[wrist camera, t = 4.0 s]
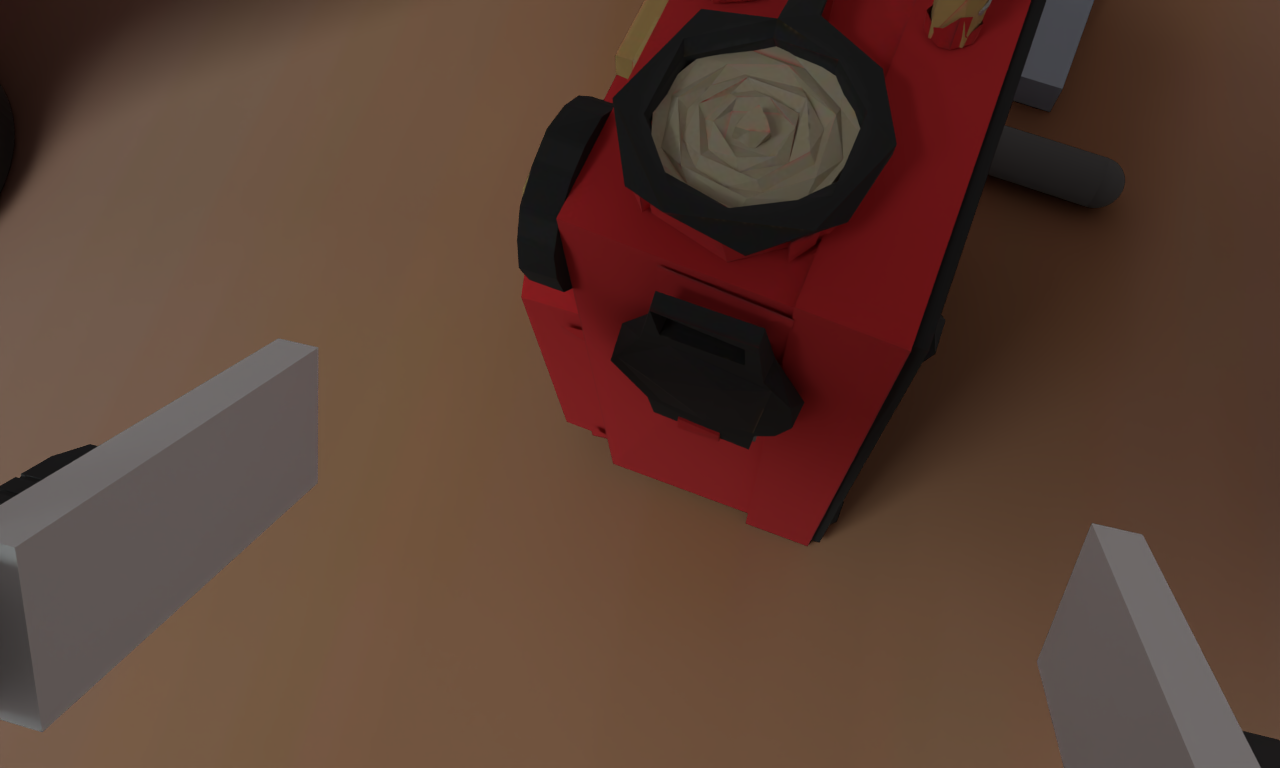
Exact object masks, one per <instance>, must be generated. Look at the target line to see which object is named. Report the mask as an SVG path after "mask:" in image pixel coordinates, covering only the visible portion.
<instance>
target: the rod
mask: <svg viewBox="0 0 1280 768" xmlns="http://www.w3.org/2000/svg"><path fill="white" fill-rule="evenodd" d="M988 175H991V176H994V177H997V178H1000V179H1003V180H1006V181H1009V182H1012V183H1015V184H1018V185H1022V186H1025V187H1028V188H1031V189H1034V190H1037V191H1040V192H1043V193H1046V194H1049V195H1052V196H1055V197H1058V198H1061V199H1064V200H1067V201H1070V202H1073V203H1076V204H1079V205H1082V206H1086V207H1090V208H1099V207H1104V206H1107V205H1109V204H1111V203H1112V202H1114V201H1115V200H1116V199H1117V198H1118V197H1119V196H1120V194H1121V193H1122V191H1123V188H1124V184H1125V176H1124V173H1123V170H1122V168H1121V167H1120V166H1119V164H1118V163H1116V162H1115V161H1113V160H1111V159H1109V158H1106V157H1103V156H1100V155H1097V154H1094V153H1091V152H1087V151H1084V150H1081V149H1078V148H1075V147H1072V146H1068V145H1065V144H1062V143H1059V142H1056V141H1053V140H1050V139H1046V138H1043V137H1040V136H1037V135H1034V134H1031V133H1027V132H1024V131H1021V130H1018V129H1015V128H1012V127H1009V126H1005V125H1004V128H1003V131H1002V134H1001V137H1000V140H999V143H998V146H997V149H996V152H995V155H994V158H993V161H992V164H991V167H990V170H989V173H988Z"/></svg>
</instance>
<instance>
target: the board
mask: <svg viewBox="0 0 1280 768" xmlns="http://www.w3.org/2000/svg"><path fill="white" fill-rule="evenodd" d="M1093 2H1094V0H1046V3H1045V6H1044V9H1043V12H1042V15H1041V18H1040V21H1039V24H1038V27H1037V30H1036V33H1035V36H1034V39H1033V42H1032V45H1031V48H1030V51H1029V54H1028V57H1027V60H1026V63H1025V66H1024V69H1023V72H1022V75H1021V78H1020V81H1019V84H1018V87H1017V90H1016V93H1015V96H1014V99H1013V101H1016V102H1019V103H1022V104H1026V105H1029V106H1032V107H1035V108H1039V109H1042V110H1045V111H1048V112H1050V111H1051V109H1052V107H1053V105H1054V104H1055V102H1056V100H1057V98H1058V96H1059V94H1060V93H1061V91H1062V89H1063V86H1064V83H1065V81H1066V78H1067V75H1068V72H1069V69H1070V67H1071V64H1072V61H1073V58H1074V55H1075V53H1076V50H1077V47H1078V44H1079V41H1080V38H1081V36H1082V33H1083V30H1084V27H1085V24H1086V22H1087V19H1088V16H1089V13H1090V10H1091V8H1092V5H1093Z"/></svg>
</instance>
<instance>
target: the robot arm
mask: <svg viewBox="0 0 1280 768" xmlns="http://www.w3.org/2000/svg"><path fill="white" fill-rule="evenodd" d="M13 148H14V121H13V115H12V111H11V107H10V104H9V101H8V98H7V96H6V94H5V92H4V90H3V88H2V86H1V85H0V192H1V190H2V188H3V185H4V183H5V180H6V178H7V175H8V171H9V168H10V165H11V160H12V155H13ZM317 483H318V347H314V346H309V345H305V344H301V343H296V342H292V341H287V340H283V339H279V338H278V339H277V340H275V341H273V342H272V343H270V344H268V345H267V346H265V347H263V348H262V349H260V350H258V351H257V352H255V353H253V354H252V355H250V356H248V357H247V358H245V359H243V360H242V361H240V362H238V363H236V364H235V365H233V366H231V367H230V368H228V369H226V370H225V371H223V372H221V373H220V374H218V375H216V376H215V377H213V378H211V379H210V380H208V381H206V382H205V383H203V384H201V385H200V386H198V387H196V388H195V389H193V390H191V391H190V392H188V393H186V394H185V395H183V396H181V397H180V398H178V399H176V400H175V401H173V402H171V403H170V404H168V405H166V406H165V407H163V408H161V409H160V410H158V411H156V412H155V413H153V414H151V415H150V416H148V417H146V418H145V419H143V420H141V421H140V422H138V423H136V424H135V425H133V426H131V427H130V428H128V429H126V430H125V431H123V432H121V433H120V434H118V435H116V436H115V437H113V438H111V439H110V440H108V441H106V442H105V443H103V444H101V445H100V446H95V445H91V444H89V445H86V446H83V447H80V448H77V449H73V450H70V451H67V452H64V453H61V454H58V455H54V456H51V457H50V458H48V459H46V460H44V461H43V462H41V463H39V464H37V465H36V466H34V467H32V468H31V469H29V470H27V471H25V472H24V473H22V474H21V477H20V478H17V477H15V478H13V479H11V480H10V481H8V482H6V483H5V484H3V485H1V486H0V720H3V721H7V722H10V723H13V724H17V725H20V726H23V727H27V728H30V729H33V730H37V731H40V732H43V731H44V730H45V729H46V728H48V727H49V726H50V725H51V724H52V723H53V722H54V721H55V720H56V719H57V718H59V717H60V716H61V715H62V714H63V713H64V712H65V711H66V710H67V709H69V708H70V707H71V706H72V705H73V704H74V703H75V702H76V701H77V700H78V699H80V698H81V697H82V696H83V695H84V694H85V693H86V692H87V691H88V690H89V689H91V688H92V687H93V686H94V685H95V684H96V683H97V682H98V681H99V680H101V679H102V678H103V677H104V676H105V675H106V674H107V673H108V672H109V671H110V670H112V669H113V668H114V667H115V666H116V665H117V664H118V663H119V662H120V661H122V660H123V659H124V658H125V657H126V656H127V655H128V654H129V653H130V652H131V651H133V650H134V649H135V648H136V647H137V646H138V645H139V644H140V643H141V642H142V641H144V640H145V639H146V638H147V637H148V636H149V635H150V634H151V633H152V632H154V631H155V630H156V629H157V628H158V627H159V626H160V625H161V624H162V623H163V622H165V621H166V620H167V619H168V618H169V617H170V616H171V615H172V614H173V613H175V612H176V611H177V610H178V609H179V608H180V607H181V606H182V605H183V604H184V603H186V602H187V601H188V600H189V599H190V598H191V597H192V596H193V595H194V594H195V593H197V592H198V591H199V590H200V589H201V588H202V587H203V586H204V585H205V584H207V583H208V582H209V581H210V580H211V579H212V578H213V577H214V576H215V575H216V574H218V573H219V572H220V571H221V570H222V569H223V568H224V567H225V566H226V565H228V564H229V563H230V562H231V561H232V560H233V559H234V558H235V557H236V556H237V555H239V554H240V553H241V552H242V551H243V550H244V549H245V548H246V547H247V546H248V545H250V544H251V543H252V542H253V541H254V540H255V539H256V538H257V537H258V536H260V535H261V534H262V533H263V532H264V531H265V530H266V529H267V528H268V527H269V526H271V525H272V524H273V523H274V522H275V521H276V520H277V519H278V518H279V517H281V516H282V515H283V514H284V513H285V512H286V511H287V510H288V509H289V508H290V507H292V506H293V505H294V504H295V503H296V502H297V501H298V500H299V499H300V498H301V497H303V496H304V495H305V494H306V493H307V492H308V491H309V490H310V489H311V488H313V487H314V486H315V485H316V484H317ZM1037 664H1038V668H1039V671H1040V675H1041V679H1042V683H1043V687H1044V691H1045V695H1046V699H1047V703H1048V707H1049V711H1050V715H1051V719H1052V723H1053V726H1054V730H1055V734H1056V738H1057V742H1058V746H1059V750H1060V754H1061V758H1062V762H1063V766H1064V768H1280V741H1279V740H1277V739H1273V738H1269V737H1265V736H1261V735H1257V734H1253V733H1249V732H1245V731H1242V730H1241V728H1240V726H1239V724H1238V722H1237V720H1236V718H1235V716H1234V714H1233V712H1232V710H1231V708H1230V706H1229V704H1228V702H1227V700H1226V698H1225V696H1224V694H1223V692H1222V690H1221V688H1220V686H1219V684H1218V682H1217V680H1216V678H1215V676H1214V674H1213V672H1212V671H1211V669H1210V667H1209V665H1208V663H1207V661H1206V659H1205V657H1204V655H1203V653H1202V651H1201V649H1200V647H1199V645H1198V643H1197V641H1196V639H1195V637H1194V635H1193V633H1192V631H1191V629H1190V627H1189V625H1188V623H1187V621H1186V619H1185V617H1184V615H1183V613H1182V611H1181V609H1180V607H1179V605H1178V603H1177V601H1176V599H1175V597H1174V596H1173V594H1172V592H1171V590H1170V588H1169V586H1168V584H1167V582H1166V580H1165V578H1164V576H1163V574H1162V572H1161V570H1160V568H1159V566H1158V564H1157V562H1156V560H1155V558H1154V556H1153V554H1152V552H1151V550H1150V548H1149V546H1148V544H1147V542H1146V540H1145V538H1144V536H1143V535H1142V534H1138V533H1133V532H1129V531H1125V530H1120V529H1116V528H1111V527H1107V526H1103V525H1098V524H1094V523H1092V524H1091V526H1090V529H1089V531H1088V534H1087V536H1086V539H1085V541H1084V544H1083V546H1082V549H1081V551H1080V554H1079V556H1078V559H1077V561H1076V564H1075V567H1074V569H1073V572H1072V574H1071V577H1070V579H1069V582H1068V584H1067V587H1066V589H1065V592H1064V594H1063V597H1062V599H1061V602H1060V604H1059V607H1058V610H1057V612H1056V615H1055V617H1054V620H1053V622H1052V625H1051V627H1050V630H1049V632H1048V635H1047V637H1046V640H1045V642H1044V645H1043V648H1042V650H1041V653H1040V655H1039V658H1038V660H1037Z"/></svg>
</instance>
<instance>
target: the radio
mask: <svg viewBox="0 0 1280 768" xmlns="http://www.w3.org/2000/svg"><path fill="white" fill-rule="evenodd" d="M1045 3H1046V0H644V2H643V4H642V6H641V8H640V10H639V12H638V14H637V15H636V17H635V19H634V21H633V23H632V25H631V27H630V29H629V30H628V32H627V34H626V36H625V38H624V40H623V42H622V44H621V45H620V47H619V49H618V51H617V53H616V55H615V61H616V74H617V75H616V77H615V79H614V81H613V83H612V85H611V87H610V89H609V91H608V93H607V95H606V97H605V99H604V100H601V99H597V98H594V97H590V96H578V97H576V98H575V99H573V100H572V101H570V102H569V103H568V104H566V105H565V106H564V107H563V108H562V110H561V111H560V112H559V114H558V115H557V116H556V118H555V119H554V120H553V121H552V123H551V124H550V125H549V127H548V128H547V130H546V132H545V135H544V137H543V140H542V142H541V145H540V147H539V150H538V152H537V155H536V157H535V160H534V162H533V165H532V167H531V170H530V173H529V175H528V178H527V180H526V183H525V185H524V188H523V197H522V201H521V204H520V212H519V224H518V236H517V245H518V260H519V268H520V269H521V271H522V272H523V273H524V282H523V289H522V296H521V298H522V300H523V303H524V306H525V308H526V311H527V314H528V317H529V319H530V322H531V325H532V328H533V330H534V333H535V336H536V338H537V341H538V344H539V347H540V349H541V352H542V355H543V358H544V360H545V363H546V366H547V369H548V371H549V374H550V377H551V379H552V382H553V385H554V388H555V390H556V393H557V396H558V399H559V401H560V404H561V407H562V410H563V412H564V415H565V418H566V420H567V422H569V423H572V424H575V425H577V426H580V427H583V428H585V429H588V430H591V431H592V434H593V435H594V436H598V437H603V438H607V439H608V443H609V448H610V452H611V456H612V460H613V464H616V465H619V466H621V467H624V468H627V469H630V470H632V471H635V472H638V473H640V474H643V475H646V476H649V477H651V478H654V479H657V480H659V481H662V482H665V483H668V484H670V485H673V486H676V487H678V488H681V489H684V490H687V491H689V492H692V493H695V494H697V495H700V496H703V497H706V498H708V499H711V500H714V501H716V502H719V503H722V504H725V505H727V506H730V507H733V508H735V509H738V510H741V511H744V512H746V513H748V516H747V520H746V524H749V525H751V526H754V527H757V528H760V529H762V530H765V531H768V532H770V533H773V534H776V535H779V536H781V537H784V538H787V539H789V540H792V541H795V542H798V543H800V544H803V545H806V546H808V545H809V543H810V541H811V540H813V541H816V542H820V540H821V539H822V537H823V535H824V533H825V532H826V530H827V528H828V526H829V525H830V524H832V523H834V522H837V519H838V516H839V514H840V511H841V508H842V505H843V503H844V502H843V500H844V498H845V497H846V495H847V493H848V491H849V490H850V488H851V486H852V484H853V483H854V481H855V479H856V477H857V476H858V474H859V472H860V471H861V469H862V467H863V465H864V464H865V462H866V460H867V458H868V457H869V455H870V453H871V451H872V450H873V448H874V446H875V444H876V443H877V441H878V439H879V437H880V436H881V434H882V432H883V430H884V429H885V427H886V425H887V423H888V422H889V420H890V418H891V416H892V415H893V413H894V411H895V409H896V408H897V406H898V404H899V402H900V401H901V399H902V397H903V395H904V394H905V392H906V390H907V388H908V387H909V385H910V383H911V381H912V380H913V378H914V376H915V374H916V373H917V371H918V369H919V367H920V366H921V364H922V362H924V361H925V360H927V359H928V358H930V357H931V356H933V355H934V354H935V352H936V349H937V346H938V343H939V340H940V336H941V333H942V330H943V327H944V324H945V319H944V318H943V316H942V315H941V313H942V310H943V307H944V304H945V301H946V298H947V295H948V292H949V289H950V286H951V283H952V280H953V277H954V274H955V271H956V268H957V265H958V262H959V259H960V256H961V253H962V250H963V247H964V245H965V242H966V239H967V236H968V233H969V230H970V227H971V224H972V221H973V218H974V215H975V212H976V209H977V206H978V203H979V200H980V197H981V194H982V191H983V188H984V185H985V182H986V179H987V176H988V173H989V170H990V167H991V164H992V161H993V158H994V155H995V152H996V149H997V146H998V143H999V140H1000V137H1001V134H1002V131H1003V128H1004V125H1005V122H1006V120H1007V117H1008V114H1009V111H1010V108H1011V105H1012V102H1013V99H1014V96H1015V93H1016V90H1017V87H1018V84H1019V81H1020V78H1021V75H1022V72H1023V69H1024V66H1025V63H1026V60H1027V57H1028V54H1029V51H1030V48H1031V45H1032V42H1033V39H1034V36H1035V33H1036V30H1037V27H1038V24H1039V21H1040V18H1041V15H1042V12H1043V9H1044V6H1045Z"/></svg>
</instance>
